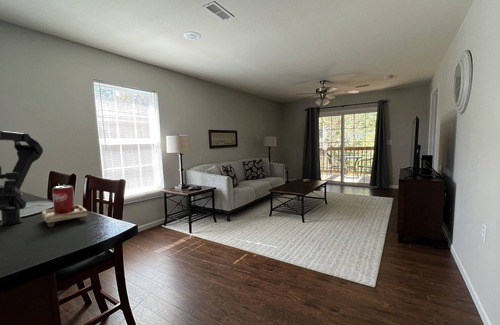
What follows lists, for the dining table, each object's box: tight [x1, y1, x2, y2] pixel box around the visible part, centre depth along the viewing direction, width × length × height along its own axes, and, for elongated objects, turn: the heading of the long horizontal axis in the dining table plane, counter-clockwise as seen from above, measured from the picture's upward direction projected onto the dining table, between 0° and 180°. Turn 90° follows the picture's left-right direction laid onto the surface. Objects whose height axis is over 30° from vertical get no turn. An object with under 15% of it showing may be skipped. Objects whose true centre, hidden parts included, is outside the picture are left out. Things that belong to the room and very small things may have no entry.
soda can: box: [52, 185, 75, 215], centre depth 104 cm, size 7×7×12 cm
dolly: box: [41, 204, 88, 228], centre depth 105 cm, size 14×14×5 cm
